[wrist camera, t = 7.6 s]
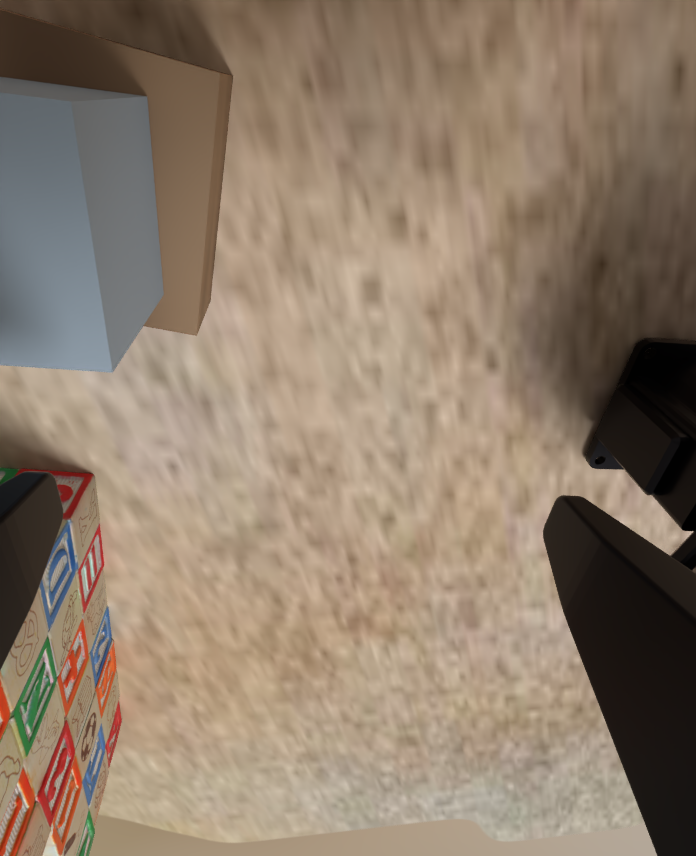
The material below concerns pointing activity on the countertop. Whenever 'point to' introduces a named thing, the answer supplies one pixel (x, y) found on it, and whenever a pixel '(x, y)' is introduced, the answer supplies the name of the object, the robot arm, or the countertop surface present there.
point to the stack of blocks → (60, 692)
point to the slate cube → (75, 225)
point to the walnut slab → (170, 141)
